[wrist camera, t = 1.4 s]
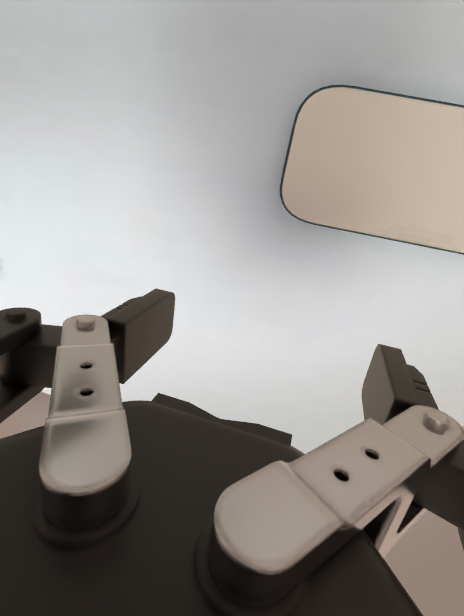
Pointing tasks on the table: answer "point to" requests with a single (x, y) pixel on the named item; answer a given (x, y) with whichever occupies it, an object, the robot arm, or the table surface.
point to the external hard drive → (378, 166)
